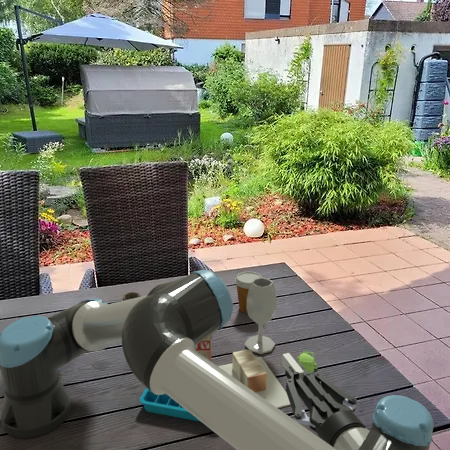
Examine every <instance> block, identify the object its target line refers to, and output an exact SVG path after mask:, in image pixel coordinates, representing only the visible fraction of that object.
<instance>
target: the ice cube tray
mask: <svg viewBox="0 0 450 450" xmlns="http://www.w3.org/2000/svg"><path fill="white" fill-rule="evenodd" d="M138 400H139V403H140V404H141V405H143V408H144V410H145V411H146V412H148V413H153V414H159V415H163V416H170V417H175V418H180V419H185V420H190V421H196V422H201V421H200V420H198V419H197V418H196V417H195V416H193V415H192V414H191V413H190V412H188V411H187V410H186V409H185V408H183V407H182V406H181V405H179V404H178V403H177V402H176V401H174V400H173V399H172V398H171V397H169V396H168V395H167V394H162V395H156V394H154V393H153V392H152V391H150V390H149V389H148V388H147V387H145V389H144V390H143V392H142V394H141V396H140V397H139V399H138ZM201 423H202V422H201Z"/></svg>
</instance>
